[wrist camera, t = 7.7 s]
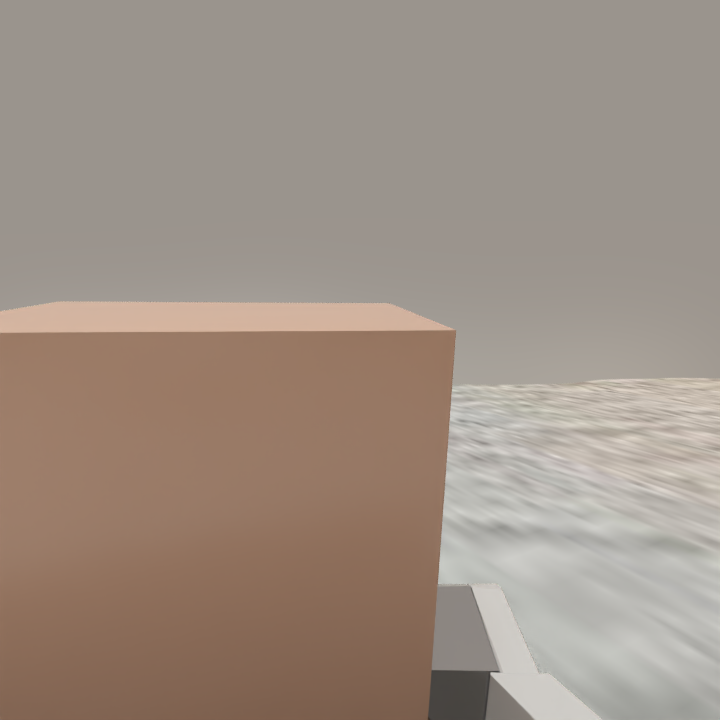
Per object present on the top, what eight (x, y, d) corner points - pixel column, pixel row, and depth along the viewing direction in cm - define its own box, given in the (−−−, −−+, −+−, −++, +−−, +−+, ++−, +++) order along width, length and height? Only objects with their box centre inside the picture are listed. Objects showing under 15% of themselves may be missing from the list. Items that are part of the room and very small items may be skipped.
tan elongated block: (371, 788, 10) (387, 302, 7) (406, 1016, 7) (455, 330, 4) (135, 832, 9) (62, 301, 6) (59, 1113, 6) (-133, 332, 3)
